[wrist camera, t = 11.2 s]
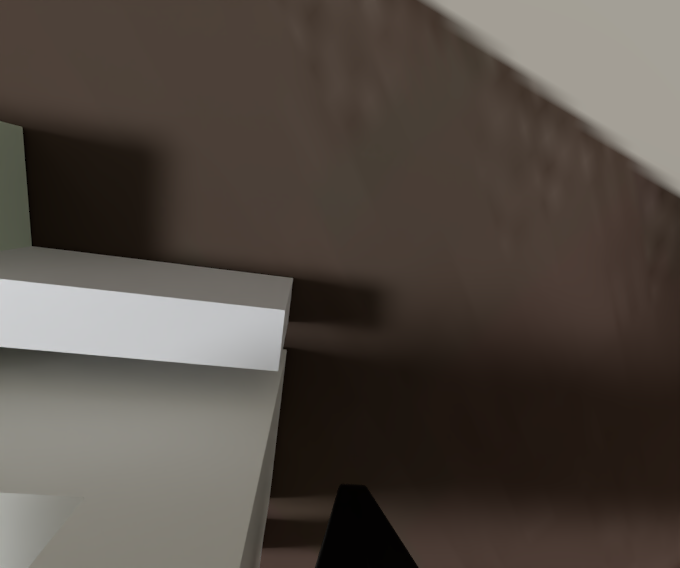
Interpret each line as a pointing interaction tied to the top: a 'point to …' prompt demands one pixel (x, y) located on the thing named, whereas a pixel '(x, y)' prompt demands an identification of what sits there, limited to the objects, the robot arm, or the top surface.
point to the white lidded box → (134, 461)
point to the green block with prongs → (128, 296)
